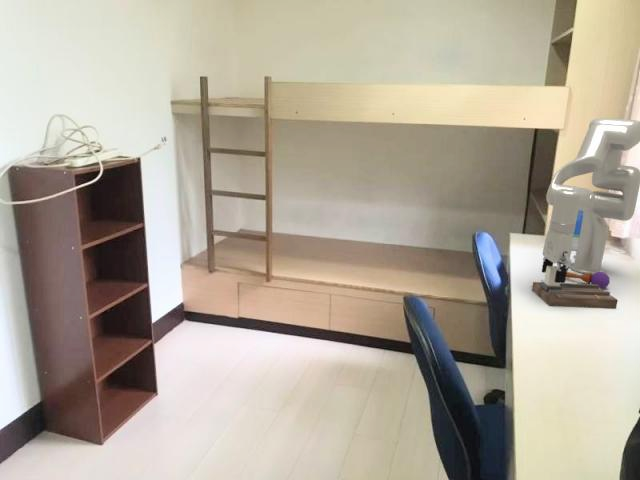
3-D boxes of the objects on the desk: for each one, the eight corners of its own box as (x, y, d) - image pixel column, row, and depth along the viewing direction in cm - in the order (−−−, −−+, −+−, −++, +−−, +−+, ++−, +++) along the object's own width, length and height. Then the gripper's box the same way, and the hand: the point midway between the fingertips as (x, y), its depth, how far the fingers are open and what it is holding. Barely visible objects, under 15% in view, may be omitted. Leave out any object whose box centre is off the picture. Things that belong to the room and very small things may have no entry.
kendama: (554, 263, 201) (612, 273, 188) (552, 279, 202) (609, 289, 189) (549, 264, 197) (608, 274, 184) (547, 279, 197) (606, 290, 184)
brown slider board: (531, 290, 183) (533, 278, 182) (593, 292, 184) (595, 281, 182) (549, 305, 169) (551, 293, 168) (615, 308, 170) (618, 296, 169)
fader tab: (540, 286, 177) (544, 265, 175) (555, 286, 177) (559, 265, 175) (546, 291, 173) (550, 269, 171) (561, 291, 173) (565, 270, 171)
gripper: (539, 220, 178) (531, 268, 182) (563, 234, 161) (553, 286, 166) (560, 221, 178) (552, 269, 183) (587, 235, 161) (576, 287, 166)
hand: (552, 277), depth 174 cm, fingers open, 9 cm apart
